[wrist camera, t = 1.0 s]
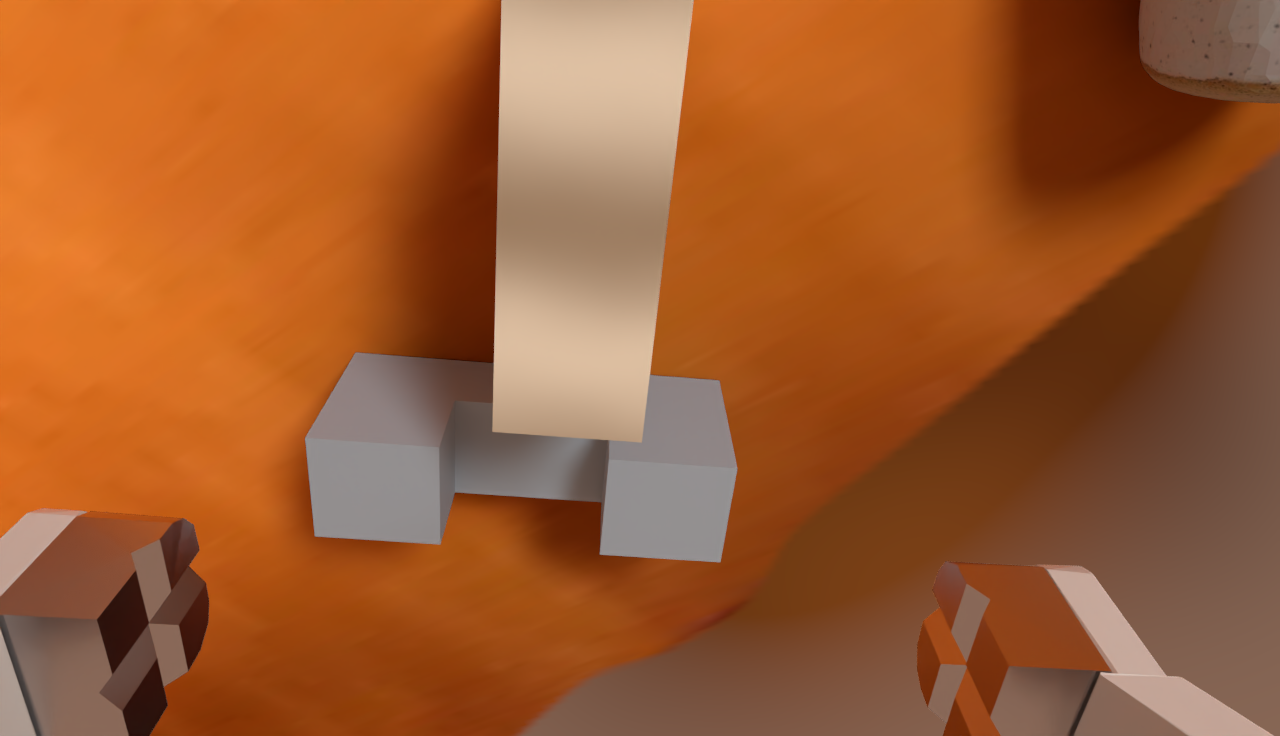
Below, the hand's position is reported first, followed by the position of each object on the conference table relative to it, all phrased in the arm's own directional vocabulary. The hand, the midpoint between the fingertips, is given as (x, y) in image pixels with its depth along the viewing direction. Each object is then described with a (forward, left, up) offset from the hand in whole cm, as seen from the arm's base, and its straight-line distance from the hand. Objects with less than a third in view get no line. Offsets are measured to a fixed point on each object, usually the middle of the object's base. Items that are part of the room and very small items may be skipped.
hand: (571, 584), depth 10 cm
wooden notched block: (0, 0, -22) cm, 22 cm away
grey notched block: (+7, -9, -22) cm, 25 cm away
